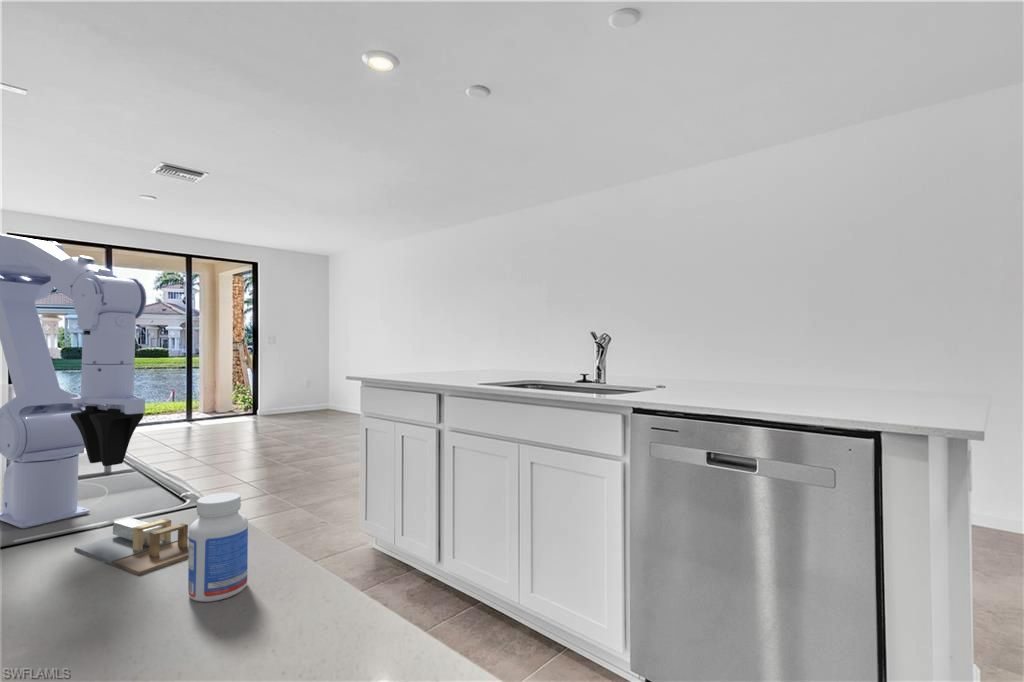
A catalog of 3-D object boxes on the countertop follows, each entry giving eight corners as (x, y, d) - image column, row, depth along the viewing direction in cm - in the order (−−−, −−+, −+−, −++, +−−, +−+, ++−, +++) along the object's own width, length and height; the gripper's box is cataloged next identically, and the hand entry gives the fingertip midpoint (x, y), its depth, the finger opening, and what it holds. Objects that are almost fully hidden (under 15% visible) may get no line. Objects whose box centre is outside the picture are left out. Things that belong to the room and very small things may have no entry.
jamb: (113, 565, 59) (114, 538, 59) (199, 537, 68) (199, 514, 68) (139, 575, 57) (139, 547, 57) (224, 545, 66) (225, 521, 66)
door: (74, 550, 64) (75, 525, 64) (160, 526, 72) (160, 504, 72) (111, 564, 60) (112, 537, 60) (197, 537, 68) (198, 513, 69)
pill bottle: (258, 580, 56) (259, 491, 56) (225, 605, 51) (228, 506, 51) (211, 577, 57) (213, 489, 57) (174, 601, 51) (176, 504, 51)
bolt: (112, 534, 67) (113, 521, 67) (129, 529, 69) (130, 517, 69) (147, 545, 63) (147, 532, 63) (164, 540, 65) (164, 527, 65)
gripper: (46, 363, 70) (44, 462, 70) (102, 366, 63) (99, 476, 63) (106, 362, 76) (104, 453, 76) (162, 364, 70) (160, 464, 69)
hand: (106, 463), depth 70 cm, fingers open, 3 cm apart
